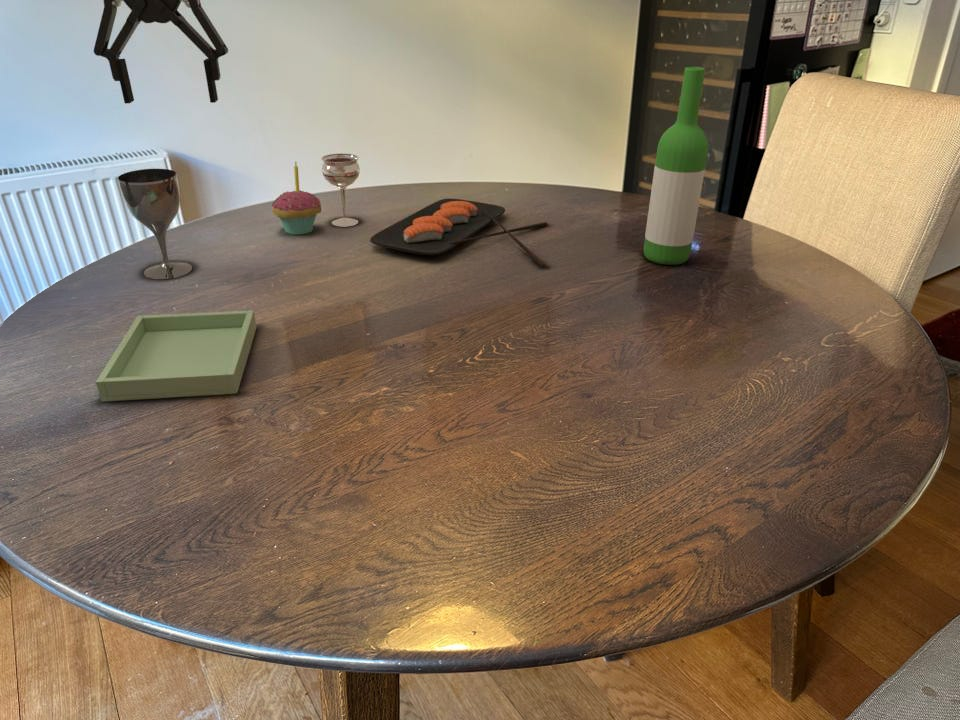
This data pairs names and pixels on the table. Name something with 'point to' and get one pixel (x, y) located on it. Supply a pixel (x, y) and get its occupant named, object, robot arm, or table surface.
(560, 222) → the table surface
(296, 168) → the cupcake
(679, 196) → the wine bottle
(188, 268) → the wine glass
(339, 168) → the wineglass
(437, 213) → the sushi plate
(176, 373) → the tray
